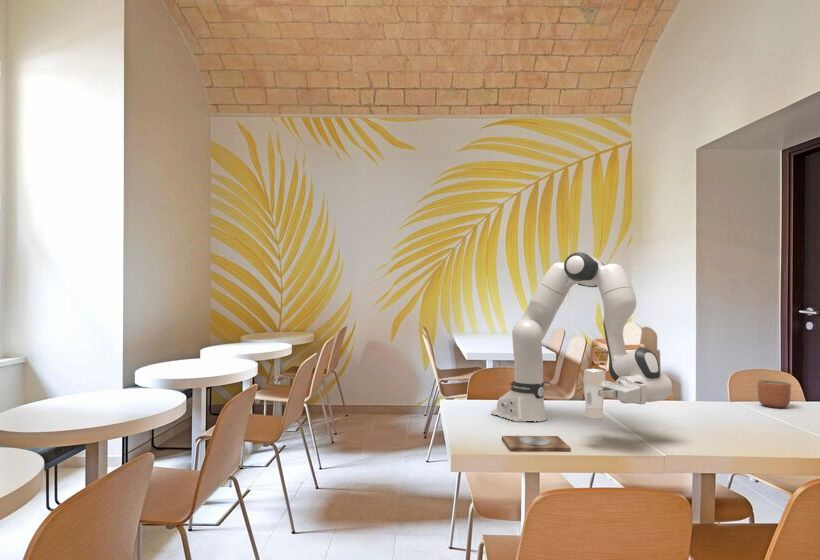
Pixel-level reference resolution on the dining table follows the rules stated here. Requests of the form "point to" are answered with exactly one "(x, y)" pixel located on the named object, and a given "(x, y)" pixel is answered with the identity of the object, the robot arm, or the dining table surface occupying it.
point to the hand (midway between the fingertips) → (592, 391)
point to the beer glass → (594, 392)
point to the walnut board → (536, 443)
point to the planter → (774, 393)
